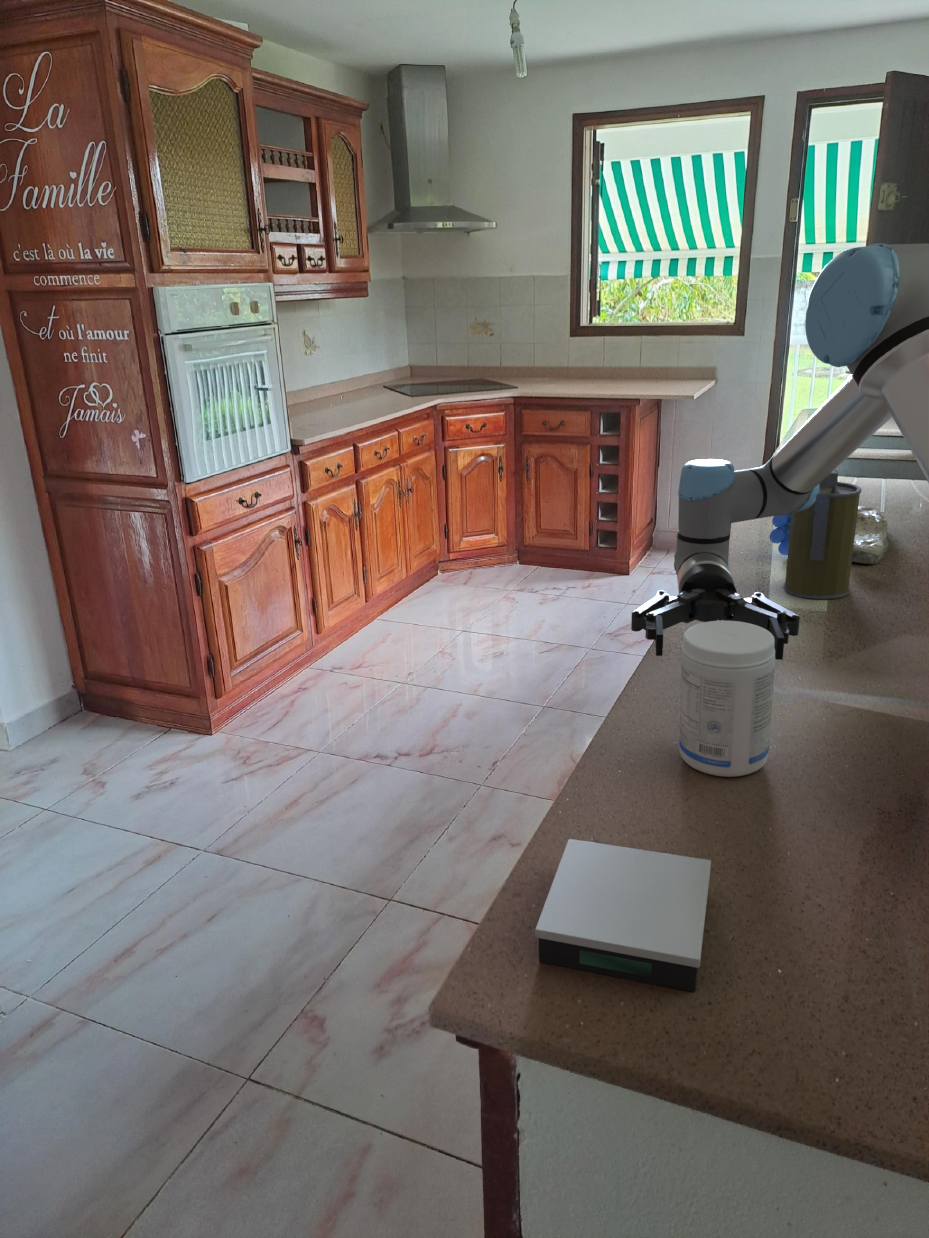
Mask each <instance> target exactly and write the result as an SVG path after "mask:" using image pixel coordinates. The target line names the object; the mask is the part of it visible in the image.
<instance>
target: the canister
mask: <svg viewBox="0 0 929 1238" xmlns="http://www.w3.org/2000/svg"><path fill="white" fill-rule="evenodd" d="M838 478H839V470H837V468H836V469H834V470H833V471H832V472H831V473H830V474H829V475H828V476H827V477H826V478H825V479H824V480H822V481H821V482H820V483H819V493H818V494H817V496H816V501H815V502H814V503H813V505H812V506H810V507H809V508H807V509H805V510H802V511H798V512H795V513H793V514H791V524H790V535H789V547H788V555H787V559H786V573H785V581H784V583H783V589H784V591H785V592H787V593H789V594H790V595H793V596H795V597H800V598H804V599H809V598H810V600H826V601H827V600H837V599H842V598H844V597H846V596H848V595H849V594H850V593H851V588H850V579H851V571H852V564H853V561H852V555H853V547H854V538H855V530H856V522H857V513H858V506H860V495H861V493H862V488H861V487H860V486H859V485H856V484H854V483H848V482H842V481H838V480H839V479H838Z"/></svg>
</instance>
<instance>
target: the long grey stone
mask: <svg viewBox="0 0 929 1238" xmlns="http://www.w3.org/2000/svg"><path fill="white" fill-rule="evenodd" d="M887 526H888V521H887V520H886V519H885V516H883V515H882V513H880V512H879V511H878V510H876V509H874V508H873V507H871V506H865V505H858V513H857V522H856V530H855V538H854V547H853V555H852V563H856V564H864V565H865V564H866V565H875V564H878V563H879V562H881V561H880V560H882V559H883V558H884V556H885V554H886V553H887V550H888V549H887V548H888V547H889V545H890V543H889V541H888V539H887V538H888V537H887V536H888V527H887Z"/></svg>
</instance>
